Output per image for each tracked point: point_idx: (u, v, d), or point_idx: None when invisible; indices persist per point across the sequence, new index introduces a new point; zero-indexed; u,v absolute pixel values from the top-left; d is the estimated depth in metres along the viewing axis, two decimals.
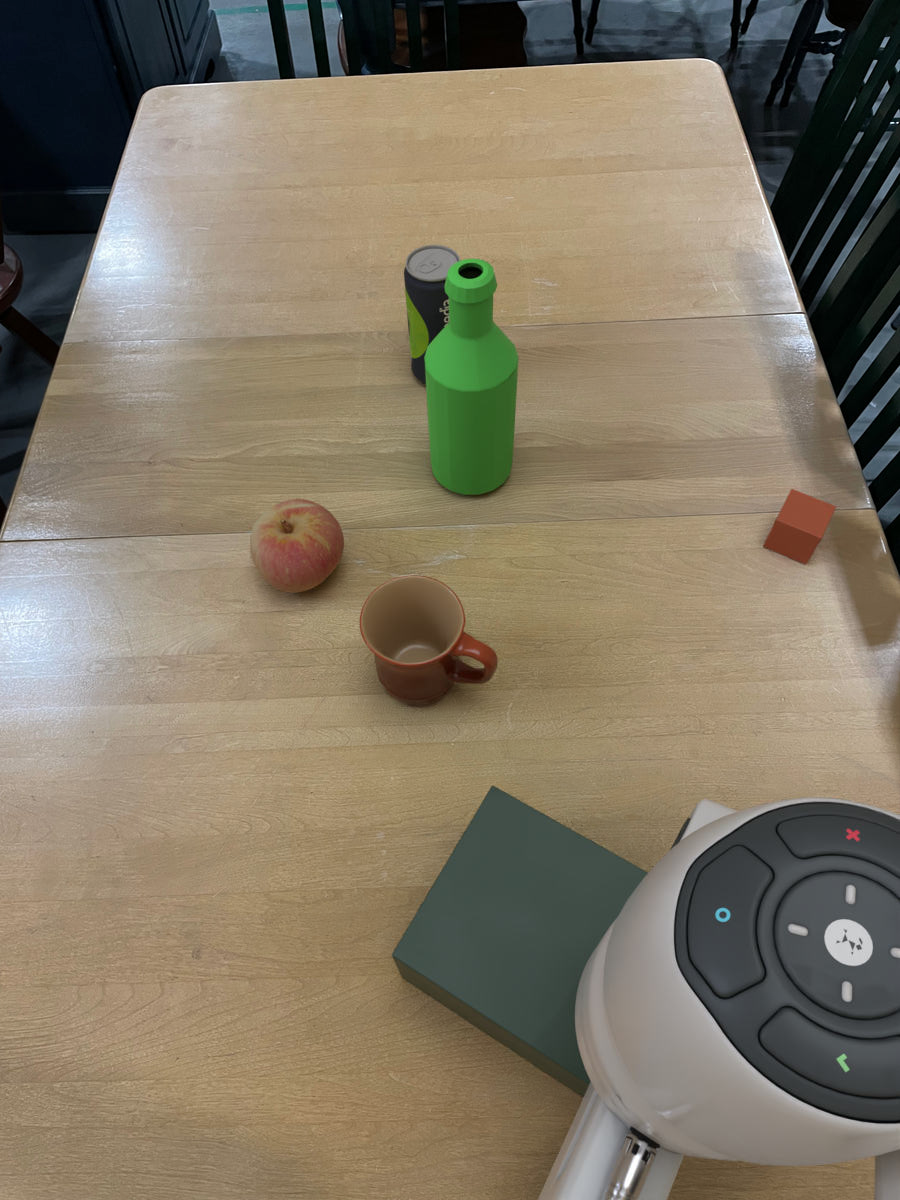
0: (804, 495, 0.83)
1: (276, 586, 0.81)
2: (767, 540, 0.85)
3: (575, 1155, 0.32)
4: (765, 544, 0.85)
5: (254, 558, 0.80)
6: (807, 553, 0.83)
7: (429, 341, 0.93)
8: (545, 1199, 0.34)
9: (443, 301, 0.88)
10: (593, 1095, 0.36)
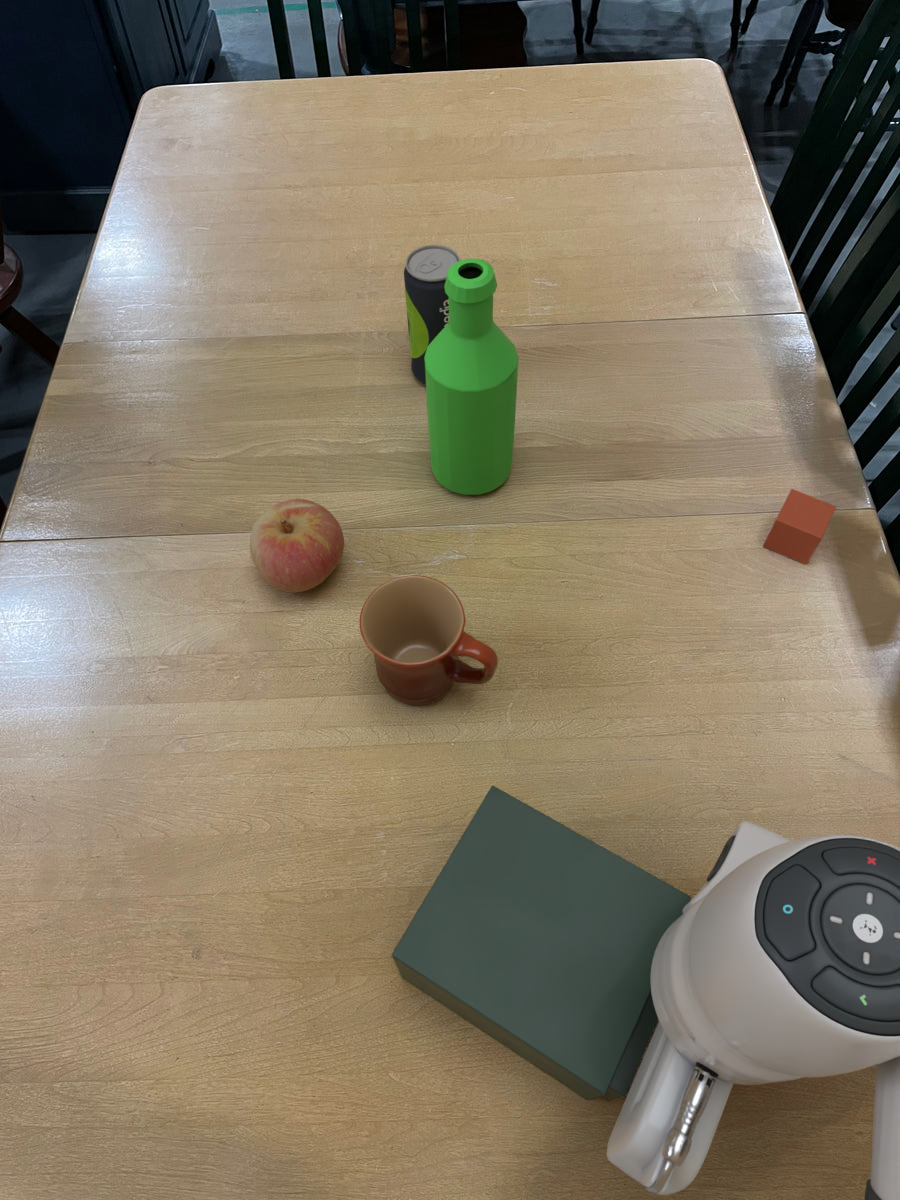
0: (804, 495, 0.83)
1: (276, 586, 0.81)
2: (767, 540, 0.85)
3: (653, 1084, 0.44)
4: (765, 544, 0.85)
5: (254, 558, 0.80)
6: (807, 553, 0.83)
7: (429, 341, 0.93)
8: (626, 1119, 0.46)
9: (443, 301, 0.88)
10: (660, 1043, 0.47)
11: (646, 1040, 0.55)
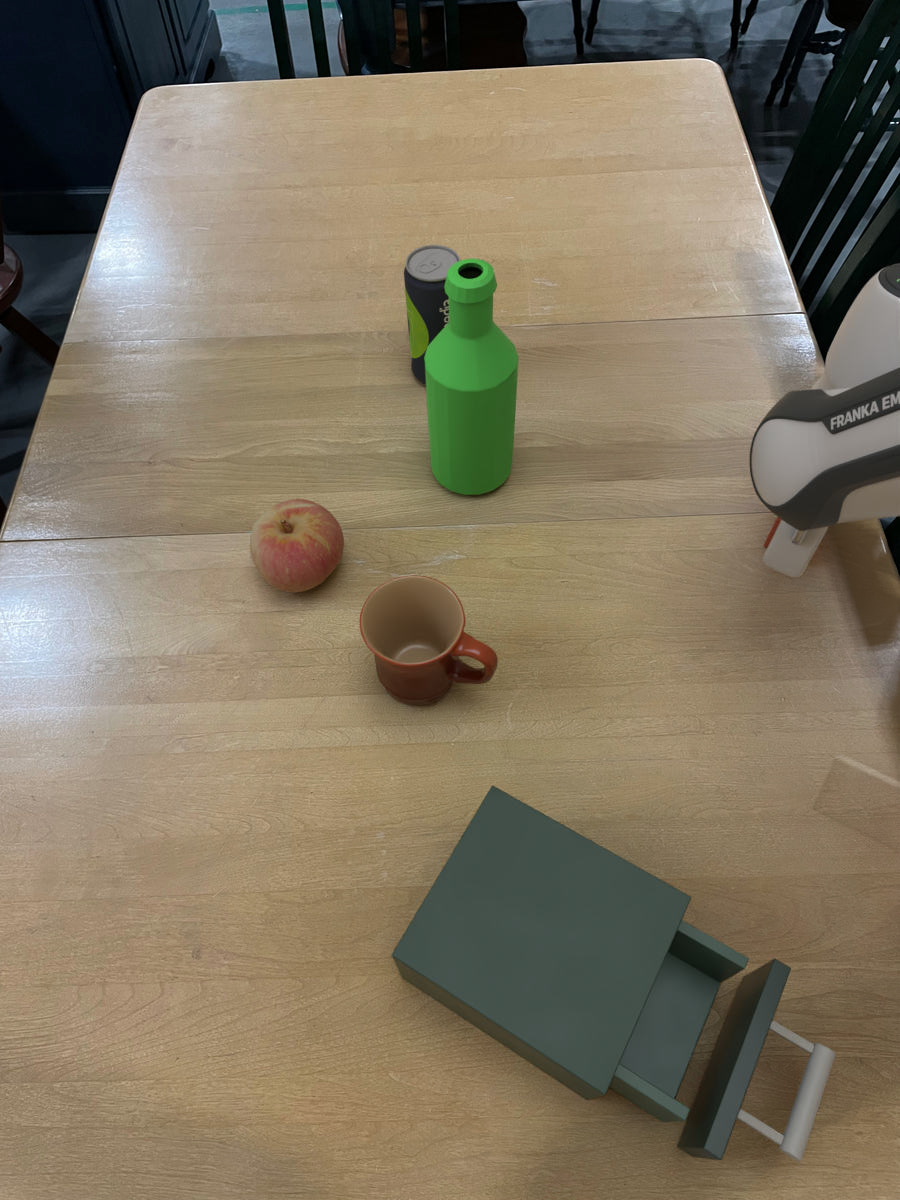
0: None
1: (276, 586, 0.81)
2: (767, 540, 0.85)
3: None
4: (765, 544, 0.85)
5: (254, 558, 0.80)
6: None
7: (429, 341, 0.93)
8: None
9: (443, 301, 0.88)
10: None
11: (740, 1099, 0.53)
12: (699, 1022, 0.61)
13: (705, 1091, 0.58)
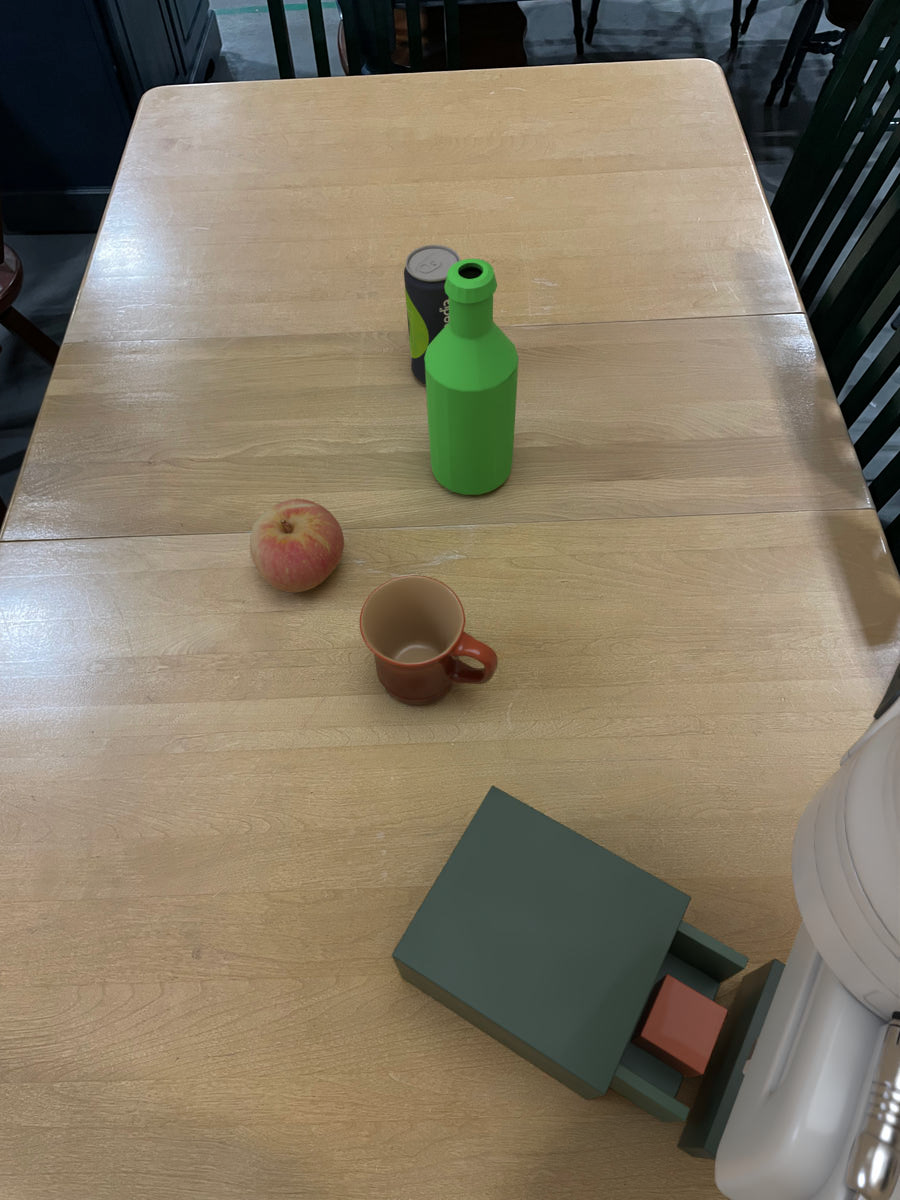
0: (684, 987, 0.58)
1: (276, 586, 0.81)
2: (634, 1041, 0.60)
3: (809, 1055, 0.24)
4: (632, 1041, 0.60)
5: (254, 558, 0.80)
6: (688, 1073, 0.58)
7: (429, 341, 0.93)
8: (752, 1119, 0.26)
9: (443, 301, 0.88)
10: (802, 991, 0.28)
11: None
12: None
13: (705, 1091, 0.58)
